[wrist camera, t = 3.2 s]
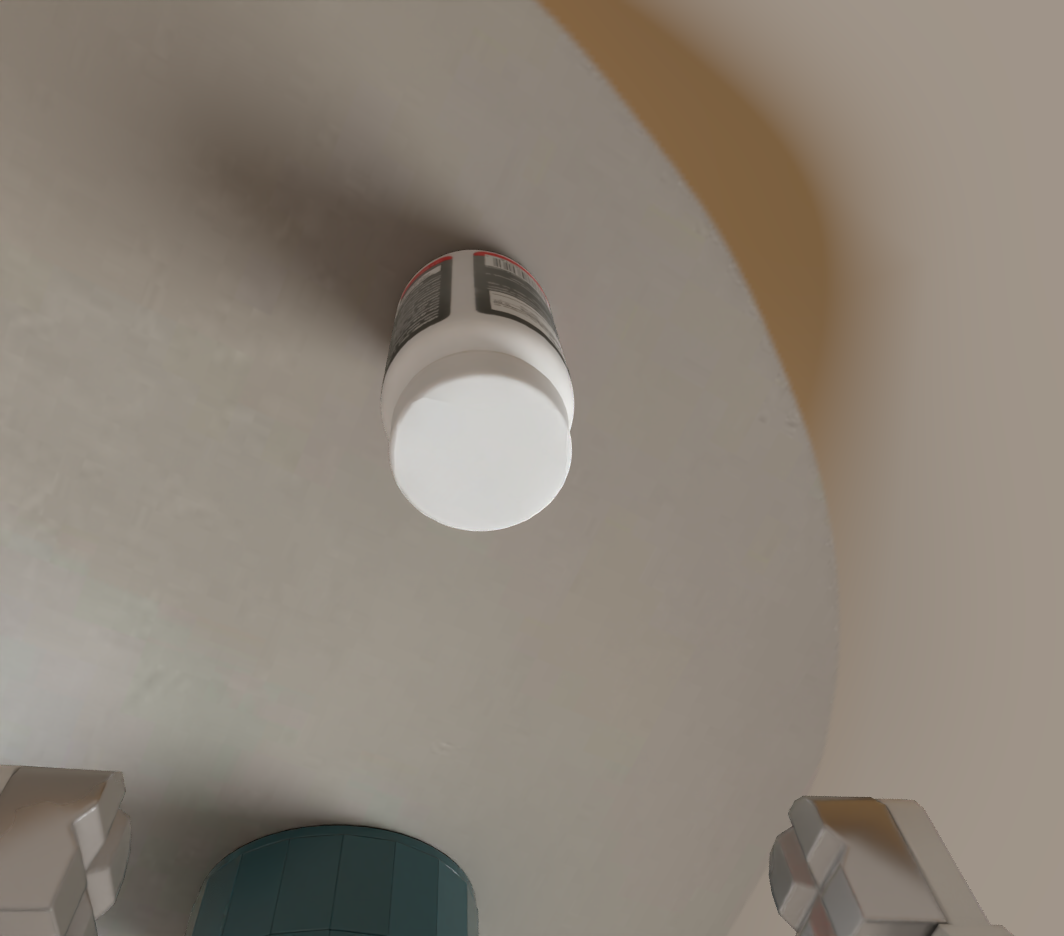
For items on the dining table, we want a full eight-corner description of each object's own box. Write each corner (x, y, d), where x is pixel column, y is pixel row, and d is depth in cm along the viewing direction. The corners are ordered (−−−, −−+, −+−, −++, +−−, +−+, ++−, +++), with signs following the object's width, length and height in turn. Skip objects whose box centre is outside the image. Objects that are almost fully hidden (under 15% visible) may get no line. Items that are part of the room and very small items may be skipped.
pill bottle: (414, 403, 26) (395, 563, 19) (380, 259, 23) (343, 379, 16) (560, 381, 26) (597, 531, 19) (541, 234, 23) (576, 342, 16)
